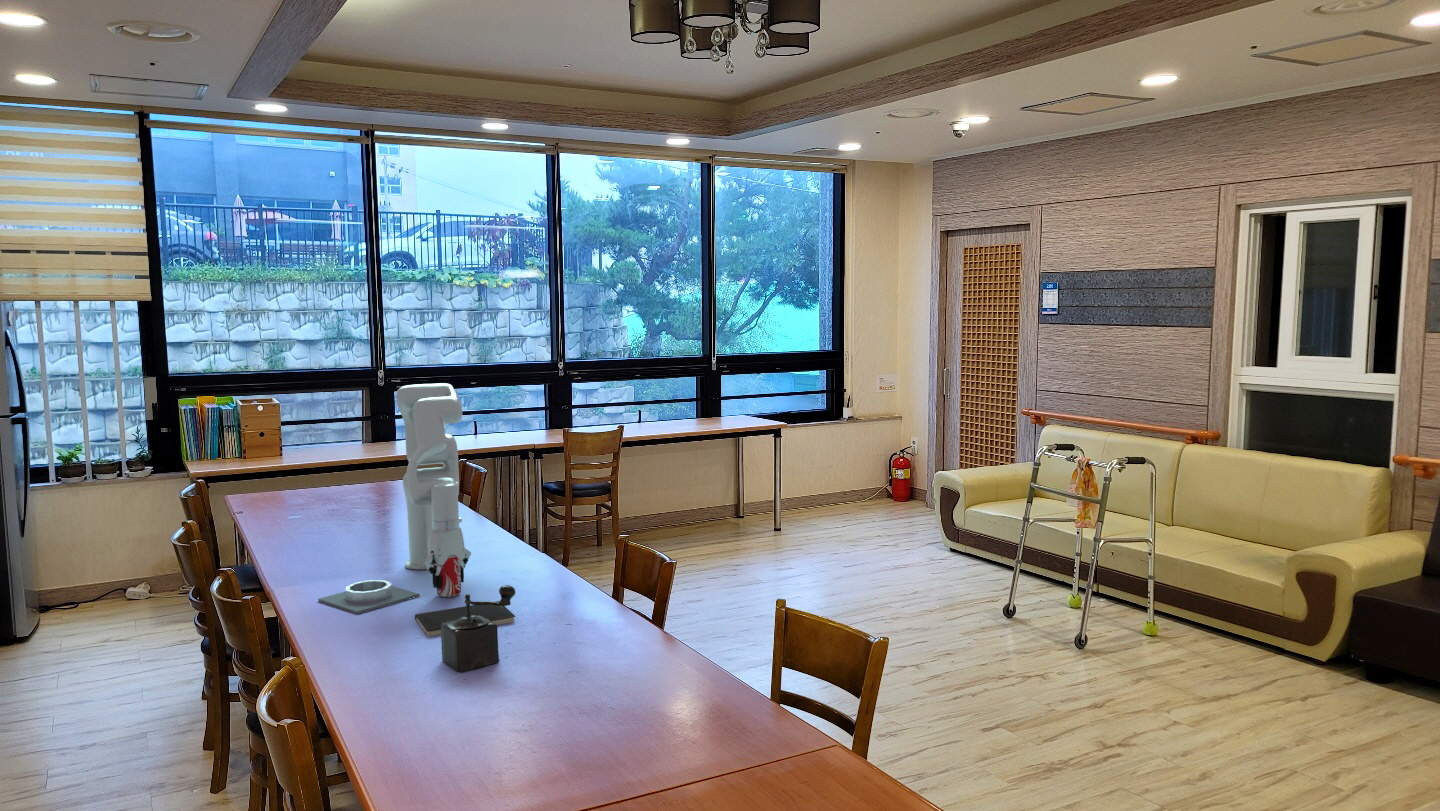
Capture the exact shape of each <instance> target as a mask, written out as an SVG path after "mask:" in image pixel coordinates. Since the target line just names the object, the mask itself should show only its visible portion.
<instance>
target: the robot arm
mask: <svg viewBox="0 0 1440 811" xmlns="http://www.w3.org/2000/svg"><path fill="white" fill-rule="evenodd" d="M395 396H396V404H397V407H398V409H399V412H400V414H401V417H402V419H403V422H404V436H405V438H404V439H405V452H406V453H405V454H406V458H407V461H408V465H407V467H406V472H405V474H404V476H403V477H402V485H403V492H404V495H405V496H404V497H405V502H406V503H405V504H406V511H407V512H406V513H407V529H408V547H409V548H408V550H409V559H408V560H406V561H405V563H404V566H405V568H407V569H409V570H414V571H415V570H418V571H419V570H422V571H423V570H426V571H427V572H429V574H430V575H431V578H432V586H433V587H432V588H435V589H436V588H438V589H441V588H442V581H441V575H439V573H440V571H441V567H442V566H443V565H444V563H445V562H446V560H447V559H448V558H447V557H453V556H456V555H457V557H458V558H459V560H460V569H461V583H464V582H465V579H464V578H465V572H464V571H465V570H464V569H466V565H467V564H468V561H469V559H470V557H471V555H472V552H471V551H470V550H469V549H467V548H466V547H465V540H464V535H463V531H462V527H460V523H462V522H463V520H462V518H461V517H460V512H459V494H460V473H459V472H460V471H459V453H458V452H459V451H458V444H457V441H456V439H455V437H454V436H453V435H451V434H450V433H446V430H445V425H447V424H457V423H460V422H461V420H462V418H463V407H462V403H461V400H460V398H459V394H457V391H456V390H455V388H454V387H453V385H452V384H450V383H446V382H445V383H444V382H442V383H441V382H440V383H422V384H420V383H418V384H407V385H403V386H400V388H398V389H397V391H396V395H395ZM435 464H436V465H439V464H441V465H443V466H439V467H427V468H418V467H419V466H426V465H428V466H429V465H435ZM436 566H437V569H436Z"/></svg>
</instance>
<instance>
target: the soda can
mask: <svg viewBox="0 0 1440 811" xmlns="http://www.w3.org/2000/svg"><path fill="white" fill-rule="evenodd" d="M447 558H448V559H447V560H446V562H445V563H444V565H443V566H442V567H441V571H440V573H439V575H441V581H442V588H441V589H438V588H435V589H436V594H437V595H438V596H440V597H441V596H442V597H441V598H444V597H449V598H452V597H451V596H454V597H457V596H458V595H459V594H461V593H462V582H461V569H460V560H459V558H458V557H457V555H456V556H453V557H447ZM436 569H437V566H436ZM456 595H457V596H456Z"/></svg>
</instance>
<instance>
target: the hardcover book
mask: <svg viewBox="0 0 1440 811" xmlns="http://www.w3.org/2000/svg"><path fill="white" fill-rule="evenodd" d="M494 602H498V603H499V602H500V600H496V601H494ZM470 613H471V615H476V616H479V615H480V616H482V617H484V618H486V619H488V620H490V621H491V622H493V623H495V624H496V625H497V626H498V624H499V625H503V624H510V623H511V624H512V623H514V622H515V619H514V618H515V617H516V615H515V614H513V612H512V611H511V610H509V609H508V608H507V606H505V607H503V606H495V605H473V604H470ZM463 616H466V605H464V606H459V607H452V608H445V609H440V610H434V611H428V612H422V613H415V615H414V620H415V619H417V620H416V621H417V623H418V622H419V623H418V624H419V626H420V625H421V626H420V627H421V628H422V630H423V629H424V630H423V631H424V633H425V632H426V633H427V634H426V633H425V634H426V636H427V637H428V636H429V637H432V636H431V635H435V636H439V635H438V634H440V635H441V623H446V622H450V621H455V620H458V619H459V618H461V617H463Z"/></svg>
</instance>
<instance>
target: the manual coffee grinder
mask: <svg viewBox="0 0 1440 811" xmlns="http://www.w3.org/2000/svg"><path fill="white" fill-rule="evenodd" d="M498 592H499V594H500V600H499V601H500V602H499V603H498V602H495V601H489V600H488V601H487V600H480V601H475V600H471V595H470V594H468V593H467V594H465V595H464V599H465V600H464V604H465V606H466V616H463V617H461V618H459V619H458V620H455V621H450V622H446V623H441V634H440V635H441V636H440V638H441V640H440V642H441V661H442V663H444V664H445V665H446V666H448V667H450V668H451V669H452V670H454V671H455V672H457V673H458V674H459V673H465V672H468V671H472V670H473V671H474V670H477V669H480V668H485V667H488V666H491V665H494V664H497V663H500V658H499V656H500V655H499V637H498V636H499V635H498V633H499V632H498V631H499V630H498V625H496V624H495V623H493V622H491V621H490V620H488V619H486V618H484V617H482V616H480V615H479V616H476V615H471V613H470V605H495V606H503V607H507V606H511V600H512V598H513V597H515V595H516V589H515V588H514V587H513V586H511V585H510V584H509V585H508V584H504V585H501V586H500V587H499V589H498Z"/></svg>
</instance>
